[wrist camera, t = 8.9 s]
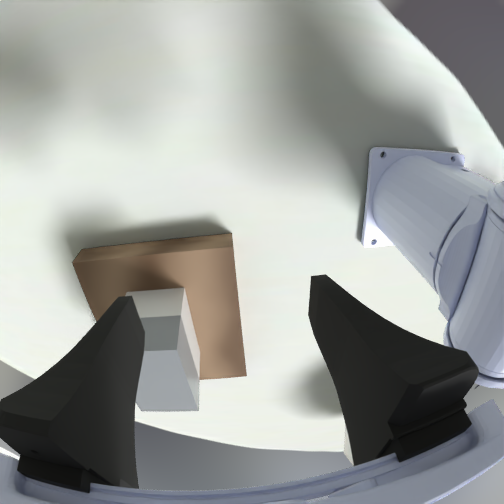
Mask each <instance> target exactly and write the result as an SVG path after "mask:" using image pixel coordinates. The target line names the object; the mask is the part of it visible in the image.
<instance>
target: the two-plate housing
mask: <svg viewBox="0 0 504 504" xmlns="http://www.w3.org/2000/svg"><path fill="white" fill-rule="evenodd" d="M125 296H132V297H133V300H134V303H135V306H136V309H137V311H138V314H139V317H140V320H141V322H142V325H143V328H144V330H145V345H144V356H143V361H142V367H141V372H140V378H139V383H138V389H137V395H136V403H137V405H138V407H139V408H140V410H141V411H199V375H200V350H199V346H198V342H197V338H196V334H195V330H194V326H193V322H192V318H191V314H190V309H189V305H188V301H187V296H186V292H185V288H173V289H161V290H148V291H134V292H127V293H126V295H125Z"/></svg>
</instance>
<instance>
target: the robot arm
mask: <svg viewBox="0 0 504 504" xmlns="http://www.w3.org/2000/svg"><path fill="white" fill-rule="evenodd" d="M382 152H384V156H383V157H381V156H380V155H381V153H382ZM451 157H452V160H451ZM464 161H465V158H464V155H463V154H460V153H454V152H444V151H433V150H421V149H406V148H387V147H373V148H372V149H371V150H370V153H369V167H368V181H367V193H366V204H365V213H364V223H363V231H362V239H361V243H362V245H363V246H364V247H365V248H371V247H380V246H390V245H395V246H396V247H397V249H398V250H399V251H400V252H401V253H402V254H403V255H404V256H405V257H406V258H407V259H408V260H409V262H410V263H411V264H412V265H413V266H414V267H415V268H416V269H417V270H418V272H419V273H420V274H421V275H422V276H423V277H424V278H425V280H426V281H427V282H428V283H429V284H430V285H431V287H432V288H433V289H434V290H435V291H436V292H437V294H438V295H439V297H440V305H439V310H440V312H441V313H442V314H443V315H444V317H445V318H446V319H447V321H448V323H447V325H446V327H445V331H444V340H443V341H444V345H441V344H438V343H435V342H433V341H430V340H427V339H425V338H422V337H420V336H417V335H415V334H413V333H411V332H409V331H406V330H404V329H402V328H400V327H399V326H397V325H395V324H393V323H391V322H390V321H388V320H386V319H384V318H383V317H381V316H380V315H378V314H377V313H375V312H374V311H372V310H371V309H369V308H368V307H366V306H365V305H364V304H362V303H361V302H360V301H358V300H357V299H356V298H354V297H353V296H352V295H350V294H349V293H348V292H347V291H345V290H344V289H343V288H342V287H341V286H339V285H338V284H337V283H336V282H334V281H333V280H332V279H331V278H329V277H328V276H327V275H326V274H325V275H318V276H311V286H310V299H309V312H308V316H309V319H310V323H311V327H312V330H313V333H314V336H315V339H316V341H317V343H318V346H319V348H320V350H321V353H322V355H323V357H324V360H325V362H326V364H327V367H328V369H329V371H330V374H331V376H332V378H333V381H334V384H335V387H336V390H337V394H338V397H339V401H340V404H341V408H342V412H343V416H344V420H345V424H346V428H347V433H348V437H349V442H350V447H351V452H352V458H353V464H354V466H353V467H350V468H346V469H343V470H339V471H335V472H331V473H328V474H324V475H319V476H315V477H310V478H306V479H300V480H295V481H290V482H284V483H278V484H272V485H264V486H257V487H247V488H237V489H226V490H206V491H205V490H204V491H168V490H166V491H165V490H147V489H139V486H138V478H137V471H136V459H135V439H134V420H135V402H136V395H137V389H138V383H139V378H140V372H141V367H142V361H143V356H144V345H145V330H144V328H143V325H142V322H141V320H140V317H139V314H138V311H137V309H136V306H135V303H134V300H133V297H132V296H122V297H118V298H117V299H116V300H115V301H114V302H113V303H112V304H111V306H110V307H109V308H108V309H107V310H106V312H105V313H104V314H103V315H102V316H101V317H100V319H99V320H98V321H97V322H96V323H95V325H94V326H93V327H92V328H91V329H90V330H89V331H88V333H87V334H86V335H85V336H84V337H83V338H82V339H81V340H80V341H79V342H78V343H77V345H76V346H75V347H74V348H73V349H72V350H71V351H70V352H69V353H68V354H66V355H65V356H64V357H63V358H62V359H61V360H60V361H59V362H58V363H56V364H55V365H54V366H53V367H51V368H50V369H49V370H48V371H46V372H45V373H44V374H43V375H41V376H40V377H38V378H37V379H36V380H34V381H33V382H31V383H30V384H28V385H26V386H25V387H23V388H22V389H20V390H18V391H16V392H14V393H13V394H11V395H9V396H7V397H5V398H3V399H1V401H0V438H1V439H2V440H3V441H4V442H6V443H7V444H8V445H9V446H10V447H12V448H13V449H14V450H15V451H16V452H18V453H19V454H20V459H19V460H17V459H15V458H13V457H11V456H8V455H5V454H2V453H0V504H432V503H434V502H436V501H438V500H440V499H442V498H444V497H445V496H447V495H449V494H451V493H453V492H454V491H456V490H458V489H459V488H461V487H462V486H464V485H466V484H468V483H469V482H471V481H472V480H474V479H475V478H477V477H478V476H480V475H481V474H483V473H484V472H485V471H487V470H489V469H490V468H491V467H493V466H494V465H495V464H497V463H498V462H499V461H500V460H502V459H503V458H504V416H503V415H502V413H501V411H500V410H499V408H498V406H497V405H496V403H495V402H494V400H493V399H491V400H489V401H487V402H486V403H484V404H482V405H480V406H479V407H477V408H475V409H474V410H472V411H471V412H470V413H468V414H466V412H465V410H464V408H466V406H467V404H466V402H465V401H464V399H463V398H464V396H465V395H466V394H467V392H468V391H469V390H470V388H471V387H472V385H473V384H474V383H476V384H479V385H481V386H485V387H489V388H502V389H504V181H502V182H500V183H499V184H496V183H494V182H493V181H491V180H489V179H487V178H485V177H483V176H481V175H479V174H477V173H475V172H473V171H471V170H469V169H467V168H465V167H464ZM373 239H375V240H374V242H372V243H371V241H372V240H373ZM326 495H329V496H328V498H326V499H321V500H315V501H309V502H307V501H305V500H310V499H314V498H319V497H323V496H326Z"/></svg>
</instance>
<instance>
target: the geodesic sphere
mask: <svg viewBox="0 0 504 504" xmlns="http://www.w3.org/2000/svg"><path fill="white" fill-rule="evenodd" d="M344 454H345V455H346V457H347V458H348V459H349V461H350V462H351V463H352V465H353V466H354V464H353V458H352V452H351V447H350V442H349V437H348V433H347V428H346V424H345V441H344Z"/></svg>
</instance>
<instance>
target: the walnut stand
mask: <svg viewBox="0 0 504 504" xmlns="http://www.w3.org/2000/svg"><path fill="white" fill-rule="evenodd" d="M72 263H73V266H74V269H75V271H76V274H77V277H78V279H79V282H80V284H81V287H82V289H83V292H84V294H85V296H86V299H87V301H88V303H89V306H90V308H91V310H92V313H93V315H94V317H95V319H96V321H98V320H99V319H100V317H101V316H102V315H103V314H104V313H105V312H106V310H107V309H108V308H109V307H110V306H111V304H112V303H113V302H114V301H115V300H116V299H117V298H118V297H122V296H125V295H126V293H127V292H134V291H148V290H161V289H173V288H185V292H186V296H187V301H188V305H189V309H190V314H191V318H192V322H193V326H194V330H195V334H196V338H197V342H198V346H199V350H200V375H199V380H204V379H219V378H231V377H242V376H247V375H246V365H245V356H244V347H243V338H242V329H241V320H240V310H239V301H238V291H237V281H236V271H235V261H234V250H233V240H232V233H229V234H219V235H209V236H198V237H188V238H179V239H169V240H160V241H150V242H141V243H132V244H123V245H114V246H105V247H97V248H88V249H82V250H81V251H80V252H79V254H78V255H77V257H76V258H75V259H74V261H73V262H72Z"/></svg>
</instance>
